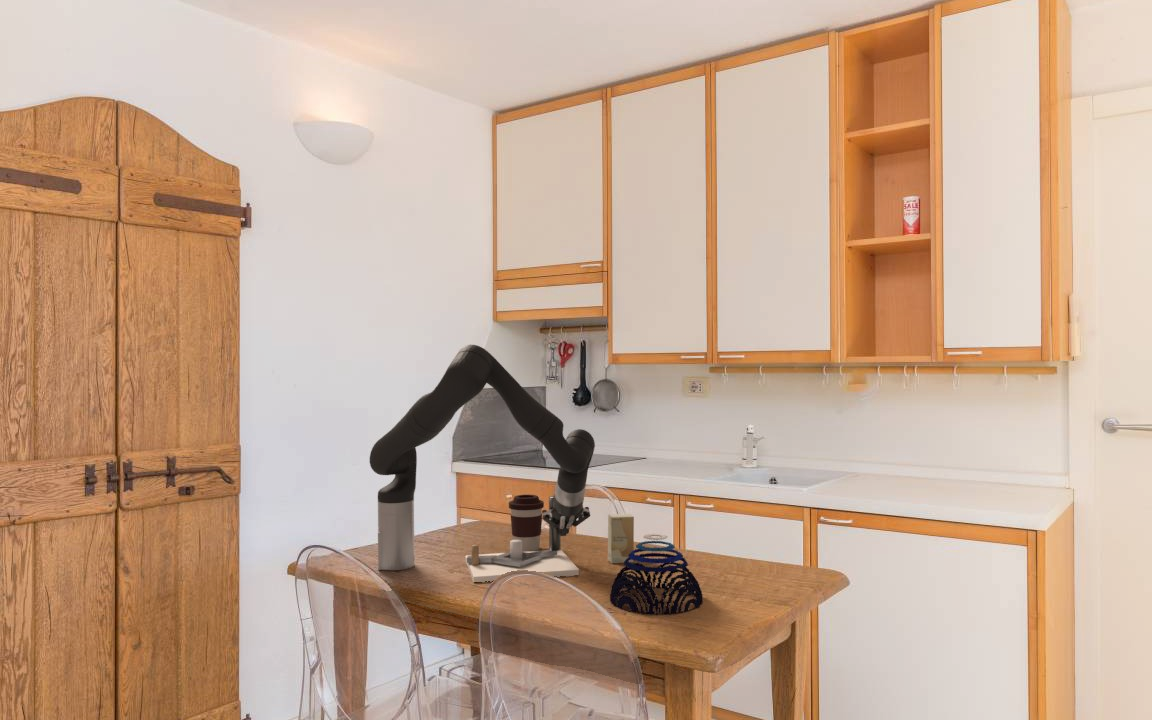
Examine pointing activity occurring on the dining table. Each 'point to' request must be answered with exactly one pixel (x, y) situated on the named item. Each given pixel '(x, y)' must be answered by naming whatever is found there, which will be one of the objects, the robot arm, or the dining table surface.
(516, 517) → the coffee cup
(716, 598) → the dining table surface
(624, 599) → the decorative bowl
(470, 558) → the grey angle bracket
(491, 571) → the post base
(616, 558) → the skincare box
